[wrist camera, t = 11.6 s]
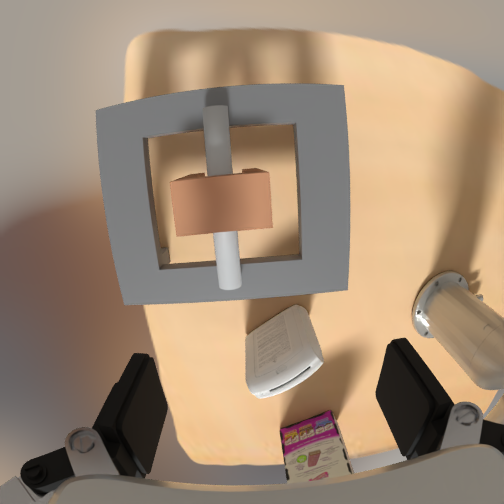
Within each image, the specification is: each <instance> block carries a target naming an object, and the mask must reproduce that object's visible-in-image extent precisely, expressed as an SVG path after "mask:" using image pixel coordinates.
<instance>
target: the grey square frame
mask: <svg viewBox="0 0 504 504" xmlns="http://www.w3.org/2000/svg"><path fill="white" fill-rule="evenodd" d="M289 124H293V128H294V142H295V158H296V177H297V198H298V226H299V254H297V255H284V256H271V257H257V258H244V259H240V256H239V245H238V233H237V231H229V232H218V233H213V237H214V246H215V255H216V261H203V262H189V263H175V264H169V263H170V258H169V251H168V248H161V247H160V241H159V234H158V227H157V220H156V213H155V205H154V197H153V188H152V179H151V169H150V159H149V147H148V138H153V137H159V136H165V135H172V134H179V133H186V132H194V131H202V130H204V138H205V151H206V163H207V175H208V176H215V175H226V174H233V171H232V158H231V145H230V132H229V128H233V127H246V126H263V125H289ZM96 128H97V144H98V157H99V168H100V177H101V186H102V193H103V201H104V208H105V214H106V221H107V227H108V232H109V238H110V243H111V248H112V254H113V258H114V263H115V268H116V272H117V277H118V281H119V285H120V289H121V293H122V297H123V301H124V304H125V305H146V304H173V303H195V302H213V301H229V300H244V299H258V298H270V297H282V296H294V295H305V294H315V293H325V292H334V291H344V290H348V274H349V251H350V168H349V145H348V129H347V115H346V104H345V93H344V85H330V84H256V85H239V86H227V87H217V88H207V89H199V90H192V91H185V92H178V93H172V94H166V95H160V96H155V97H150V98H145V99H140V100H135V101H131V102H126V103H122V104H118V105H114V106H110V107H106V108H102V109H99V110H96Z"/></svg>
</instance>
